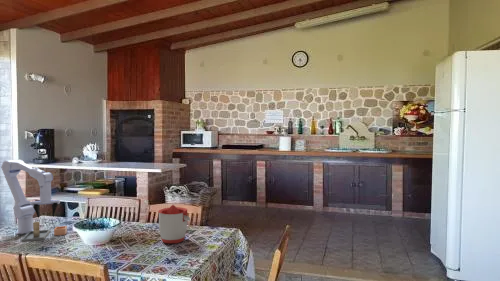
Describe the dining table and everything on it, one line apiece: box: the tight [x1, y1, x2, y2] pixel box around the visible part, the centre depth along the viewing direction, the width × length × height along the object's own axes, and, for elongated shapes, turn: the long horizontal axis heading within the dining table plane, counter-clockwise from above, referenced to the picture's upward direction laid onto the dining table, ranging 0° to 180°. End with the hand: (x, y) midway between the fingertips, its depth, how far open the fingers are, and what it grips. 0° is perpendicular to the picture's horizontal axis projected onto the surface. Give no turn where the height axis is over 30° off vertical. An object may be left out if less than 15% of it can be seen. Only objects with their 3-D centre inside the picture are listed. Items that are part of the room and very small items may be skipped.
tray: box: [20, 229, 51, 243], centre depth 205 cm, size 16×11×2 cm
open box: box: [53, 225, 68, 236], centre depth 210 cm, size 6×6×4 cm
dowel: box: [33, 221, 41, 237], centre depth 205 cm, size 3×3×8 cm
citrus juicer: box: [157, 204, 191, 244], centre depth 199 cm, size 16×17×20 cm
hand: (46, 216), depth 210 cm, fingers open, 7 cm apart
